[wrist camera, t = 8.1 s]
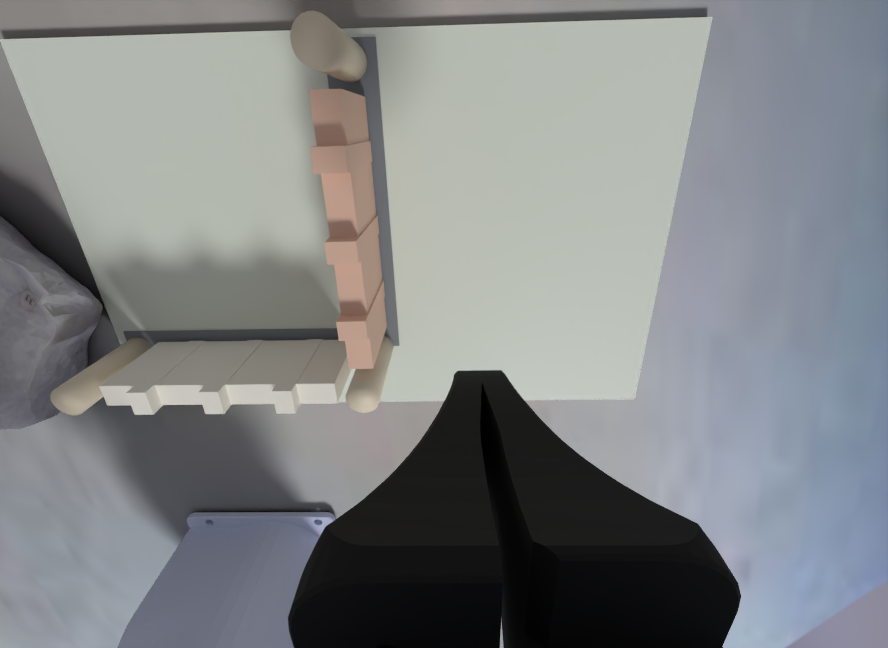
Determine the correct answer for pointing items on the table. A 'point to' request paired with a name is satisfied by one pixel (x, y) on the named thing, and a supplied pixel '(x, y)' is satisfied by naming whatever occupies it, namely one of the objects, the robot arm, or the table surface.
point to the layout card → (383, 189)
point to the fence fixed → (224, 376)
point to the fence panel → (345, 184)
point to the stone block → (38, 329)
